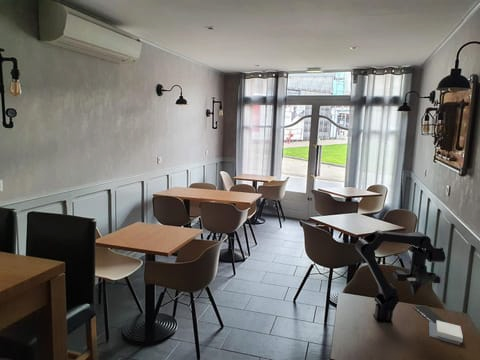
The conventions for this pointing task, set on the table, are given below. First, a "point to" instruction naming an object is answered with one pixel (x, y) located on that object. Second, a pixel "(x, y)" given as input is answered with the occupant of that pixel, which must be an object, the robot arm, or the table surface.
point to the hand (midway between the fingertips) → (414, 294)
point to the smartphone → (428, 313)
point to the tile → (449, 331)
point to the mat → (434, 335)
